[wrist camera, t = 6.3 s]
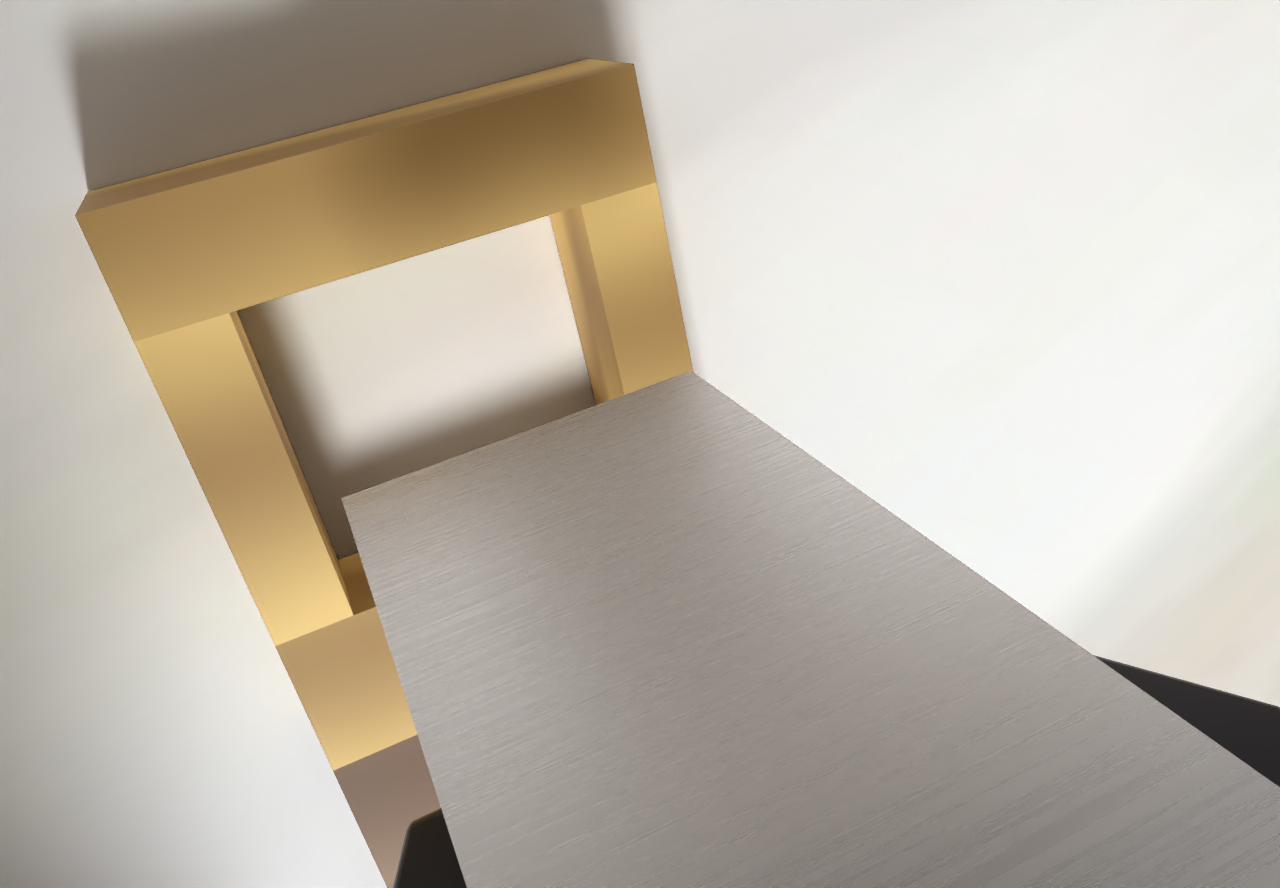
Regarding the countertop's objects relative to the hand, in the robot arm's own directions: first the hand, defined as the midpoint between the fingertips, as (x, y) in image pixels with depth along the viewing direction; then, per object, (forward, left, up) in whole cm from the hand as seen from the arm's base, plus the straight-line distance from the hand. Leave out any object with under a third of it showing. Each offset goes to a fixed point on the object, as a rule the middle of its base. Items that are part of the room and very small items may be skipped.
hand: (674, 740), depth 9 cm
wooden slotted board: (-5, 0, -10) cm, 12 cm away
